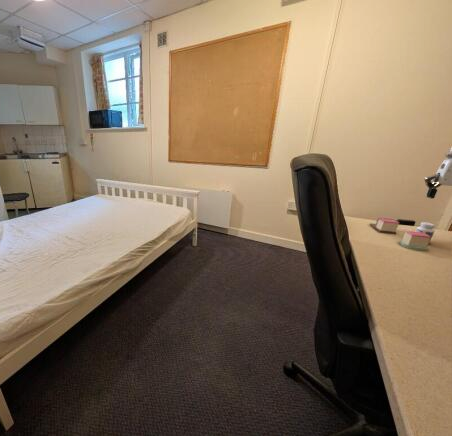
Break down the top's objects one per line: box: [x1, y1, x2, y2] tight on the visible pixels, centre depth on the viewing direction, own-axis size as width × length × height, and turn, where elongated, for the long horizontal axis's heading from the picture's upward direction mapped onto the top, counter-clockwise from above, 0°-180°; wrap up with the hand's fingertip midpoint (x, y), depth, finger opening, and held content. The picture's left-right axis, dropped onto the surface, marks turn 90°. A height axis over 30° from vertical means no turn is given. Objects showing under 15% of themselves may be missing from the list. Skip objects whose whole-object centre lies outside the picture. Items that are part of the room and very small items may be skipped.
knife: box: [375, 217, 417, 227], centre depth 113 cm, size 14×2×5 cm, turn 70°
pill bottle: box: [415, 221, 435, 244], centre depth 100 cm, size 5×5×9 cm
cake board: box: [369, 223, 397, 235], centre depth 115 cm, size 6×11×1 cm, turn 160°
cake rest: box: [376, 217, 400, 233], centre depth 112 cm, size 6×4×5 cm
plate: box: [399, 240, 428, 252], centre depth 97 cm, size 8×8×1 cm
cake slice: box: [401, 230, 432, 248], centre depth 96 cm, size 6×4×5 cm
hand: (445, 198), depth 92 cm, fingers open, 9 cm apart
